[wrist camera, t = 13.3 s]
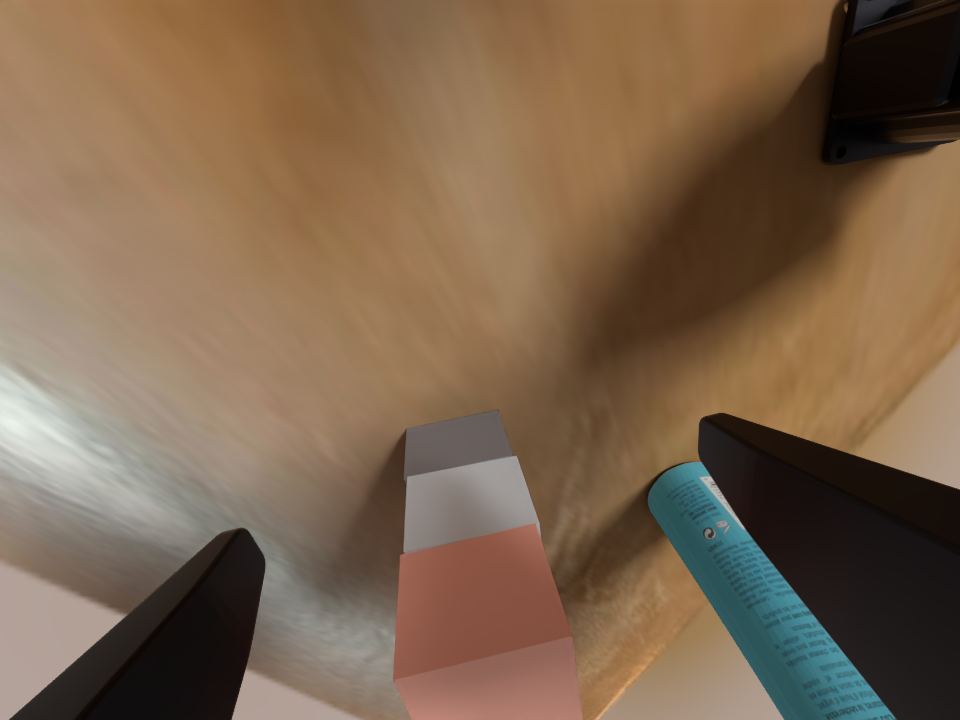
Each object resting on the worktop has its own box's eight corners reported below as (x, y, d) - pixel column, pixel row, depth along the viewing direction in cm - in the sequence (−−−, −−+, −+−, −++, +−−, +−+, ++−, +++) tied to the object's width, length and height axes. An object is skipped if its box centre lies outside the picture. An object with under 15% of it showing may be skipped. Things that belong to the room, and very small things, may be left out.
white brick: (516, 455, 18) (539, 524, 15) (526, 534, 21) (548, 610, 17) (407, 476, 18) (403, 552, 15) (428, 554, 20) (429, 636, 17)
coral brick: (535, 523, 15) (572, 636, 11) (549, 608, 17) (583, 726, 13) (400, 554, 15) (393, 680, 11) (431, 637, 17) (433, 765, 13)
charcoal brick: (497, 408, 22) (512, 454, 18) (509, 479, 24) (525, 532, 21) (406, 427, 22) (403, 478, 18) (426, 497, 24) (427, 554, 20)
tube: (626, 527, 27) (992, 1162, 10) (629, 470, 25) (1103, 1148, 8) (732, 507, 27) (1261, 1076, 10) (744, 449, 25) (1432, 1040, 8)
